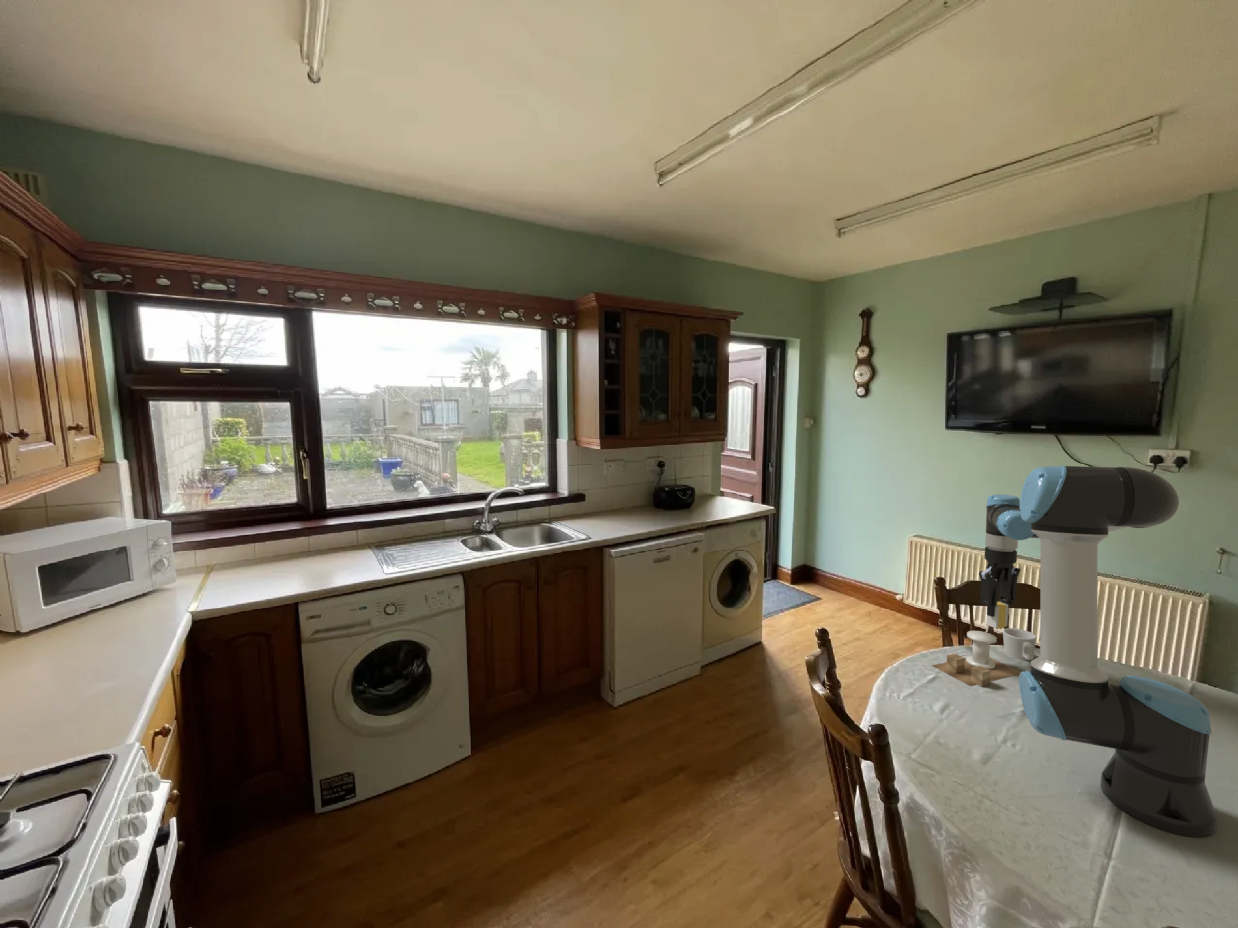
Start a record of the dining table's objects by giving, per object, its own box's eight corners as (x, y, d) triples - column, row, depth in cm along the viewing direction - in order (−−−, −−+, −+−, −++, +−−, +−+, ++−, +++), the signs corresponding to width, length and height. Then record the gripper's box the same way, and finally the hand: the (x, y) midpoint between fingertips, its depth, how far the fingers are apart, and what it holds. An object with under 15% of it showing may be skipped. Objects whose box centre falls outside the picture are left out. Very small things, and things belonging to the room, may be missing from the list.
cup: (1047, 670, 146) (1048, 644, 145) (1016, 668, 147) (1017, 642, 147) (1025, 653, 156) (1026, 628, 156) (996, 651, 158) (997, 627, 157)
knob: (1001, 667, 146) (1002, 638, 145) (983, 671, 144) (984, 642, 143) (977, 656, 153) (979, 629, 152) (960, 660, 151) (961, 632, 150)
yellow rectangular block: (1004, 627, 148) (1006, 604, 147) (997, 629, 147) (998, 606, 147) (994, 623, 151) (996, 601, 150) (987, 624, 150) (988, 602, 149)
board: (1028, 679, 141) (1029, 661, 141) (974, 692, 136) (975, 674, 135) (982, 658, 154) (983, 641, 154) (931, 669, 148) (931, 652, 148)
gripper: (1007, 541, 152) (1004, 616, 155) (967, 547, 148) (964, 624, 150) (1034, 548, 145) (1030, 626, 148) (993, 554, 141) (989, 634, 143)
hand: (997, 625), depth 149 cm, fingers closed on yellow rectangular block, 3 cm apart
